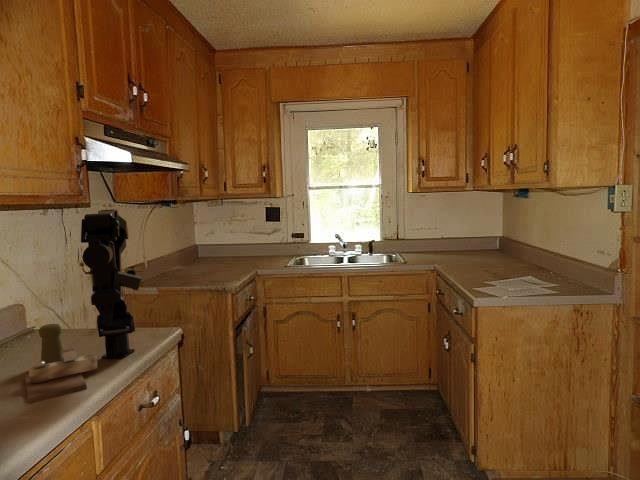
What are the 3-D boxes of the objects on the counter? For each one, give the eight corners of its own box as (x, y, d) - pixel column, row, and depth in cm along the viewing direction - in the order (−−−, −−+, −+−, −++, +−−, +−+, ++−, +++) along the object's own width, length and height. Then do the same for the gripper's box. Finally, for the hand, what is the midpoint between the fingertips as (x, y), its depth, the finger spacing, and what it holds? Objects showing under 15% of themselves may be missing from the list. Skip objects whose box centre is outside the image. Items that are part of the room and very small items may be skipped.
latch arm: (30, 384, 109) (29, 372, 109) (29, 378, 113) (28, 366, 113) (99, 369, 117) (98, 357, 117) (96, 364, 121) (95, 353, 121)
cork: (60, 359, 131) (56, 320, 129) (70, 363, 127) (66, 323, 126) (36, 365, 126) (32, 325, 125) (46, 370, 122) (41, 329, 121)
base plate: (25, 378, 117) (24, 374, 117) (76, 367, 123) (76, 363, 123) (28, 402, 102) (28, 398, 102) (86, 388, 109) (86, 384, 109)
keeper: (35, 388, 110) (33, 364, 109) (32, 379, 116) (30, 356, 116) (79, 378, 115) (77, 354, 115) (74, 369, 122) (72, 347, 121)
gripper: (140, 264, 111) (145, 329, 113) (136, 256, 128) (140, 312, 130) (88, 269, 107) (94, 336, 108) (90, 260, 124) (96, 318, 125)
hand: (108, 325), depth 118 cm, fingers closed
